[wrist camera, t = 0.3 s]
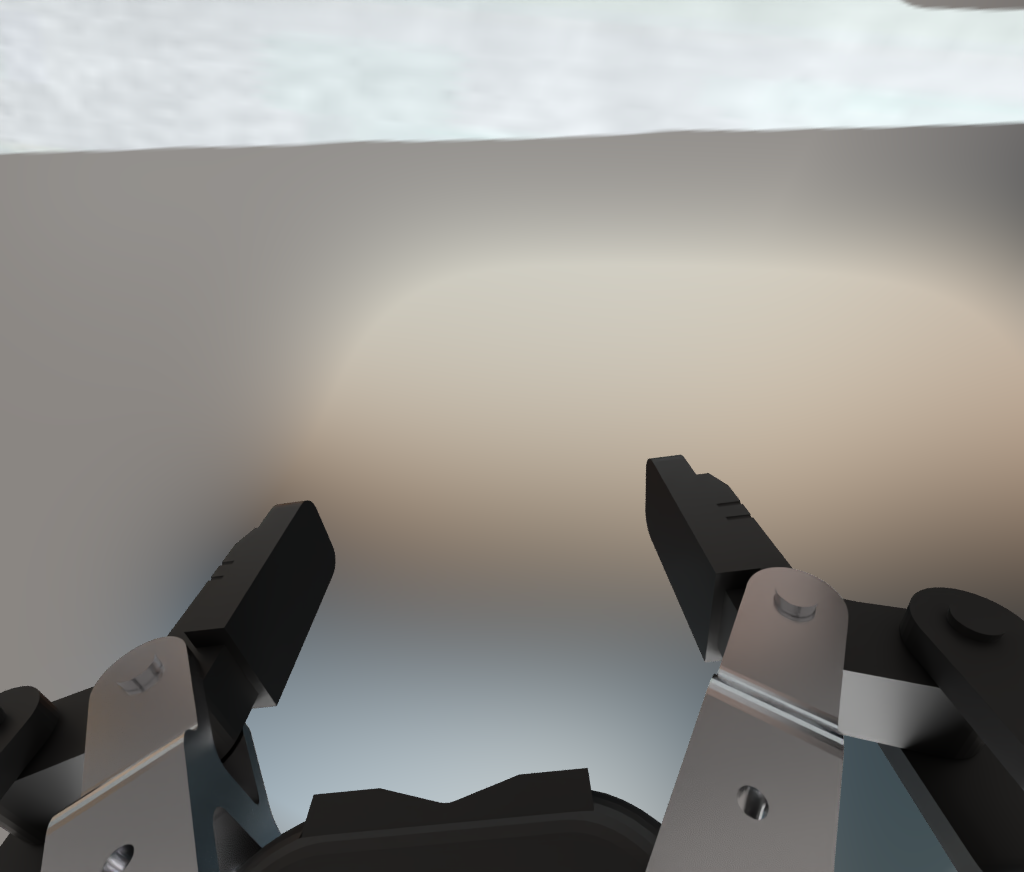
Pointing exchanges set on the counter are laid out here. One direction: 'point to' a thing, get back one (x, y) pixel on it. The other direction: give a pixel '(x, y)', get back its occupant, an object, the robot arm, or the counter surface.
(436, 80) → the counter surface
